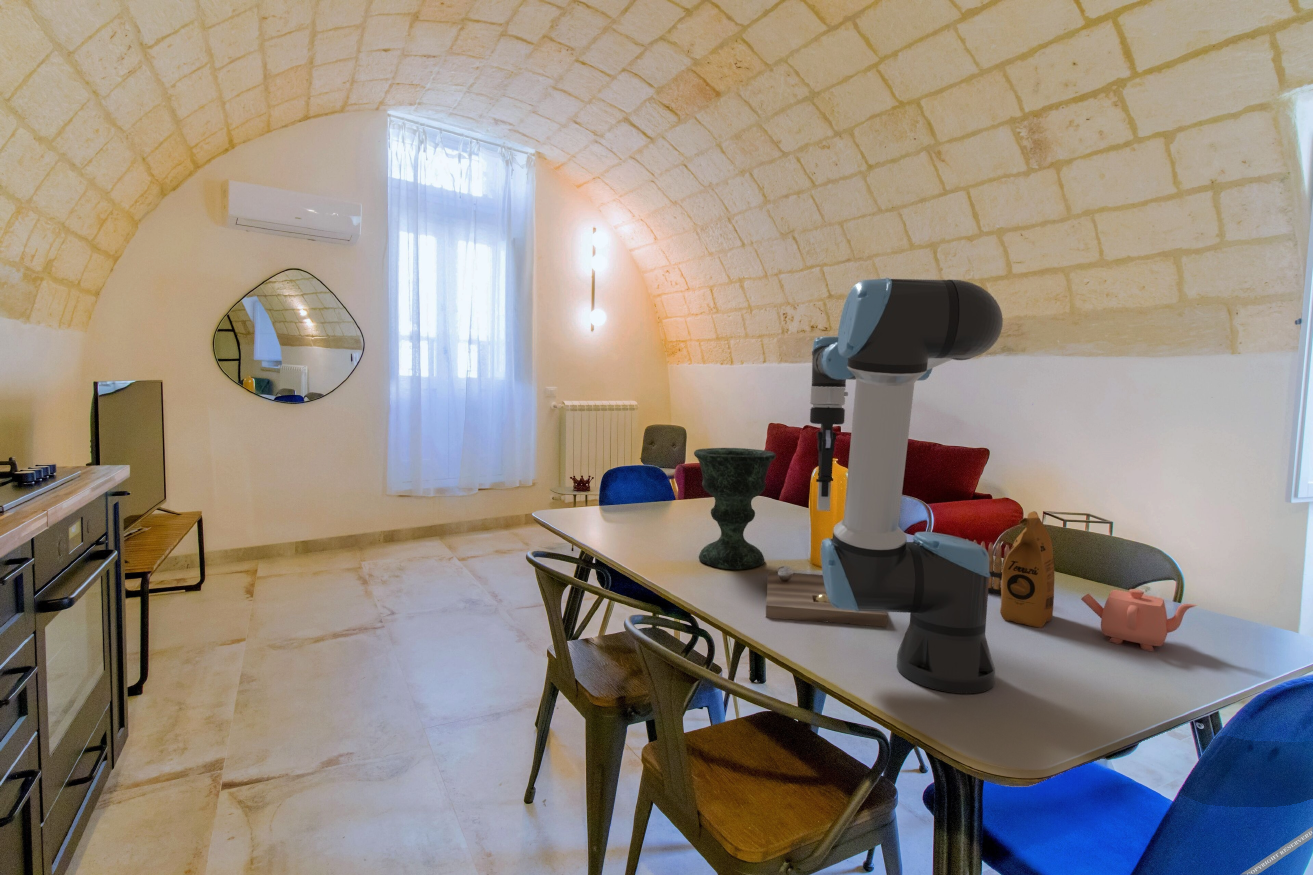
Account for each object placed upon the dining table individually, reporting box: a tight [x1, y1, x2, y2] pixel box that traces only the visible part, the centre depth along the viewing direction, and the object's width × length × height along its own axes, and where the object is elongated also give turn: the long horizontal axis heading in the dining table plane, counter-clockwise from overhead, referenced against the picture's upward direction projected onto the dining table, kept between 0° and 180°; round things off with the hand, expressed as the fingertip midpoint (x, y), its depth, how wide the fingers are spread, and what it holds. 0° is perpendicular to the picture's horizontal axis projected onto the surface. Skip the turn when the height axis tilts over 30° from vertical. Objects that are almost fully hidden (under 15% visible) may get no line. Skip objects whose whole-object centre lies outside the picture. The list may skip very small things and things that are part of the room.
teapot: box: [1080, 588, 1198, 652], centre depth 129 cm, size 14×12×10 cm
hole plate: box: [765, 570, 888, 628], centre depth 149 cm, size 26×24×2 cm
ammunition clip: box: [965, 538, 1010, 596], centre depth 159 cm, size 11×2×12 cm, turn 52°
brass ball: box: [815, 594, 830, 603], centre depth 143 cm, size 4×4×4 cm
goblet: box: [693, 447, 777, 571], centre depth 181 cm, size 22×23×30 cm
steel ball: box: [777, 565, 794, 581], centre depth 156 cm, size 4×4×4 cm
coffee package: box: [999, 511, 1055, 629], centre depth 141 cm, size 10×12×22 cm
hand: (823, 510), depth 152 cm, fingers closed
